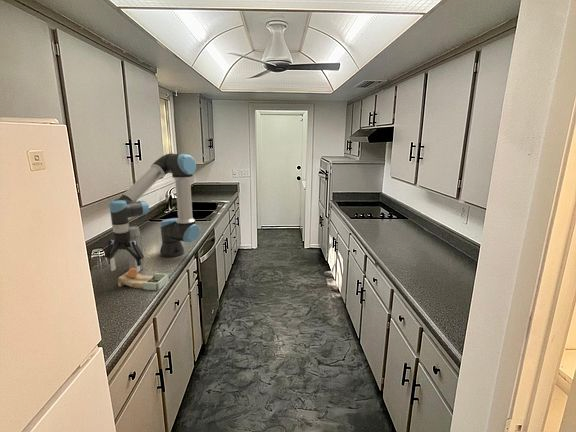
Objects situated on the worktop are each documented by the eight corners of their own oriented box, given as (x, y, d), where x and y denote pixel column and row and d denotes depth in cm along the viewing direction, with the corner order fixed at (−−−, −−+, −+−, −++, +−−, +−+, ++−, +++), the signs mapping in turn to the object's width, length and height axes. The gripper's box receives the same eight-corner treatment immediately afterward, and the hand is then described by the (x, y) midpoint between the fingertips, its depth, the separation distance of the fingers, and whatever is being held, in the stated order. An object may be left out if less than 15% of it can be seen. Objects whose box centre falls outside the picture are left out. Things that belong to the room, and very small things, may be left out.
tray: (155, 279, 174) (155, 273, 173) (169, 280, 173) (169, 273, 172) (143, 289, 162) (142, 282, 161) (158, 290, 161) (157, 283, 161)
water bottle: (128, 273, 181) (123, 230, 175) (131, 267, 189) (126, 226, 183) (146, 271, 184) (142, 229, 178) (148, 266, 191) (144, 225, 185)
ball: (130, 265, 169) (139, 266, 169) (130, 274, 170) (139, 275, 170) (125, 269, 164) (135, 270, 164) (125, 278, 165) (135, 279, 165)
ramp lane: (129, 278, 174) (128, 269, 173) (154, 280, 173) (153, 271, 172) (118, 286, 165) (117, 277, 164) (144, 288, 163) (143, 279, 162)
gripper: (93, 232, 160) (98, 272, 165) (140, 234, 158) (144, 274, 163) (103, 228, 168) (108, 266, 173) (148, 230, 165) (152, 269, 170)
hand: (125, 270), depth 168 cm, fingers open, 13 cm apart
